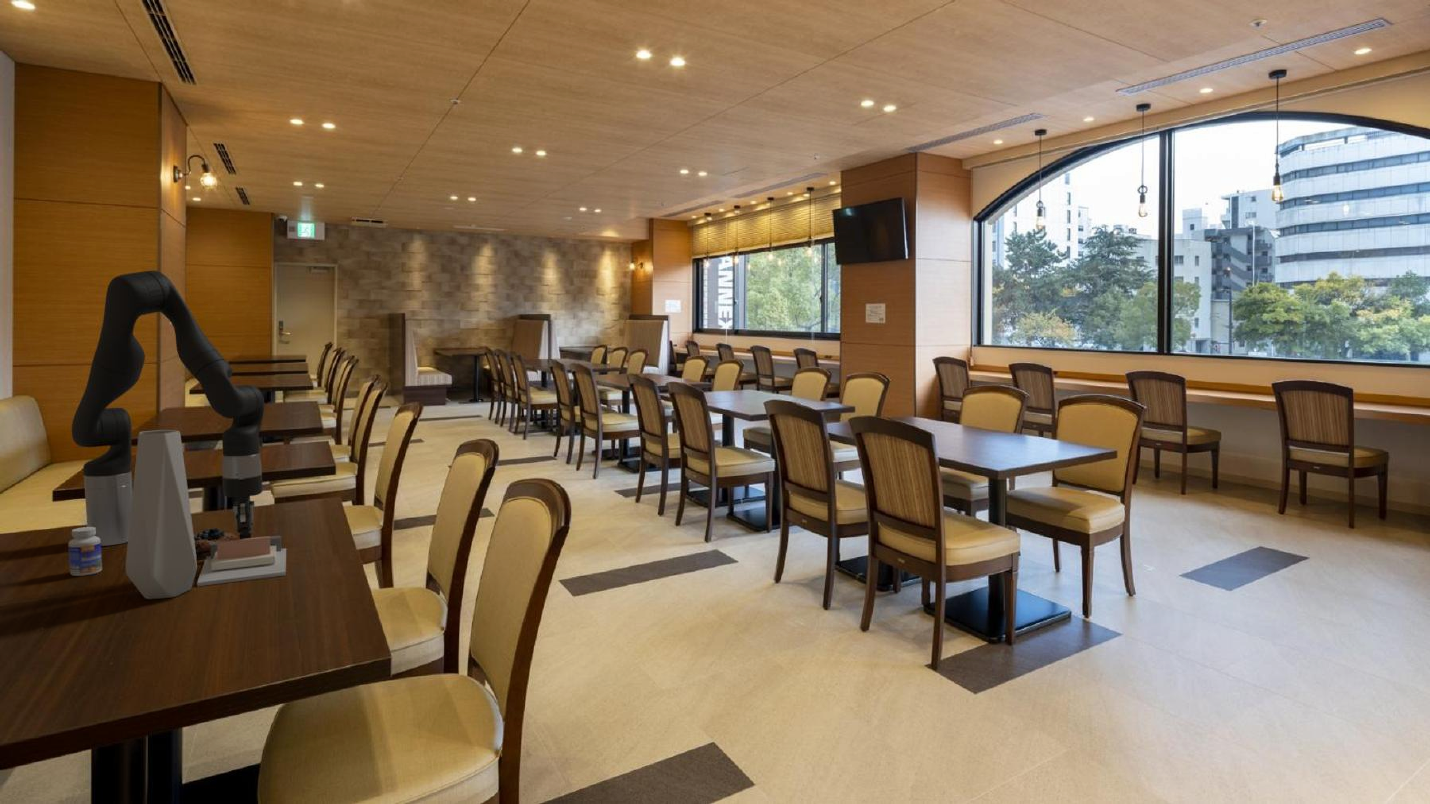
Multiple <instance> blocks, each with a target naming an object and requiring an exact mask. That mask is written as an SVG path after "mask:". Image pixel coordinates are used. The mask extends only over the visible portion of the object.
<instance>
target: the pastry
mask: <svg viewBox="0 0 1430 804" xmlns="http://www.w3.org/2000/svg"><path fill="white" fill-rule="evenodd" d="M236 539H240V538H239V537H237V536H236V535H235V534H233V533H231V532H225V531H224V530H222V529H219V528H217V527H212V528H210V529H209V528H208V529H207V528H206V529H204V530H203V531H202V532H199V533H198V534H197V533H196V535H195V534H194V541H195V549H196V561H201V560H206V557H210V556H211V550H210V545H211V543H212V542H217V541H227V540H236Z"/></svg>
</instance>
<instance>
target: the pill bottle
mask: <svg viewBox="0 0 1430 804" xmlns="http://www.w3.org/2000/svg"><path fill="white" fill-rule="evenodd" d="M95 534H96V528H95V527H87V526H85V527H84V526H83V527H78V528H74V529H72V530H71V537H72V538H73V539H70V541H68V558H69V559H68V561H69V572H70V573H69V574H70V575H71V576H75V577H84V576H90V575H94V574H98V573H100V572H101V571H102V570H103V561H102V560H103V559H102V546H101V542H100V538H99V537H96V536H95Z"/></svg>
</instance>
